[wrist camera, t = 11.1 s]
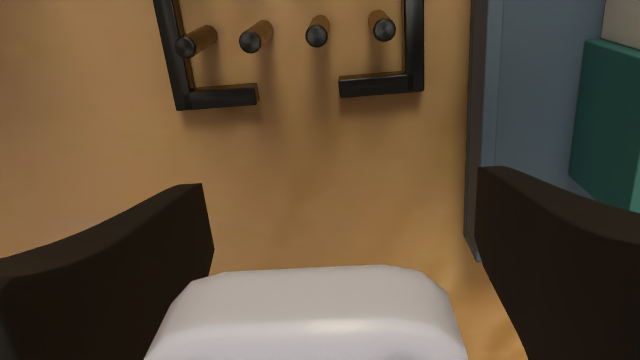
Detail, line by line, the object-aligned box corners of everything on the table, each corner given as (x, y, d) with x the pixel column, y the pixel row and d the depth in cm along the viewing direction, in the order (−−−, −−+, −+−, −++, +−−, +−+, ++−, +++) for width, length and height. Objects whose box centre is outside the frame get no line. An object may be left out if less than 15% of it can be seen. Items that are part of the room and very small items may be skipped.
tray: (699, 221, 24) (738, 248, 21) (463, 235, 24) (476, 263, 22) (852, -384, 15) (944, -446, 13) (481, -333, 16) (505, -382, 14)
